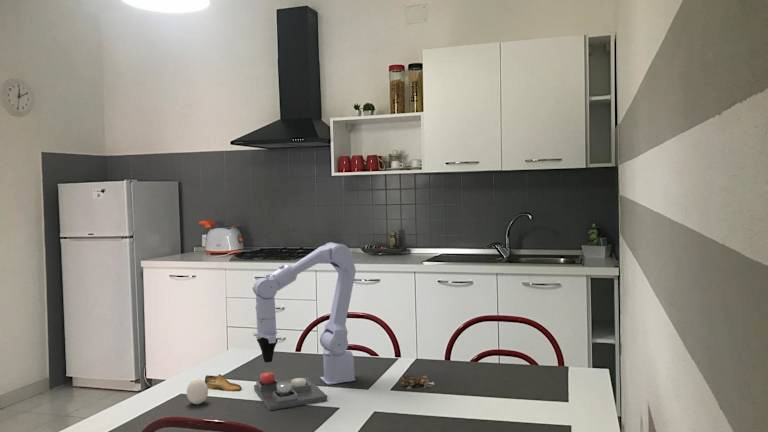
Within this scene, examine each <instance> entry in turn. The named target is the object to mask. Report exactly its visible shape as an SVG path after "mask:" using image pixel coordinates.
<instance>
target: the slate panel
mask: <svg viewBox="0 0 768 432" xmlns="http://www.w3.org/2000/svg"><path fill="white" fill-rule="evenodd" d="M301 378H304V379H306V385H304V386H298V387H292V393H291V394H288V395H278V394H277V384H278V383H281V382H291V380H292V379H293V378H291V379H290V378H289V379H283V380H277V379H276V378H275V383H272V384H261V380H257V381H256V382H255V383H256V384H254V385H253V390H254V392H255V393H256V394H257V396H258V397H259V399H260V400H261V401H262V402H263V404H264V406H265V407H266V406H267V407H266V408H267V409H268V411H269V410H271V411H274V410H275V411H276V410H282V409H286V408H287V407H288V408H293V406H294V407H298V406H305V405H310V404H316V403H321V402H327V401H328V395H327V394H326V393H325V392H323V391H322V390H321V388H319V387H318V385H316V384H315V383H314V382H313V381H312V380H311V379H310V378H309V377H308V376H303V377H301ZM281 408H282V409H281Z"/></svg>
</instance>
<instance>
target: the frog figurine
mask: <svg viewBox="0 0 768 432" xmlns="http://www.w3.org/2000/svg"><path fill="white" fill-rule="evenodd" d="M399 381H400V385H407V387H406V390H407V389H408V390H412V389H413V387H420V386H423V388H429V387H432V386H431V385H433V386H434V385H435V382H434V381H432V382H430V380H429V379H428V375H427V374H426V375H423V376H420V377H418V376H416V375H414V374H411V375H405V374H403V375H401V377H400V378H399Z"/></svg>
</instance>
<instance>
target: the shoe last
mask: <svg viewBox="0 0 768 432" xmlns="http://www.w3.org/2000/svg"><path fill="white" fill-rule="evenodd" d="M204 382H205V383H206V385H207V387H208V389H218V390H222V391H224V390H225V392H236V391H237V390H238V391H241V390H242V386H241V385H240V384H238V383H234V382H230V381H228V380H227V378H225V377H224V376H223V375H222V374H220V373H219V374H218V375H206V376H205V378H204Z"/></svg>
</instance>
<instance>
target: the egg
mask: <svg viewBox="0 0 768 432" xmlns="http://www.w3.org/2000/svg"><path fill="white" fill-rule="evenodd" d="M208 395H209V388H208V387H207V385H206V383H205V380H203V379H202V378H199V377H196V378H193V379H191V381H189V384H188V385H187V388H186V397H187V399H188V401H189V402H190V403H192V404H194V405H200V404H202V403H204V402H205V400H206V399H208Z"/></svg>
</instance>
